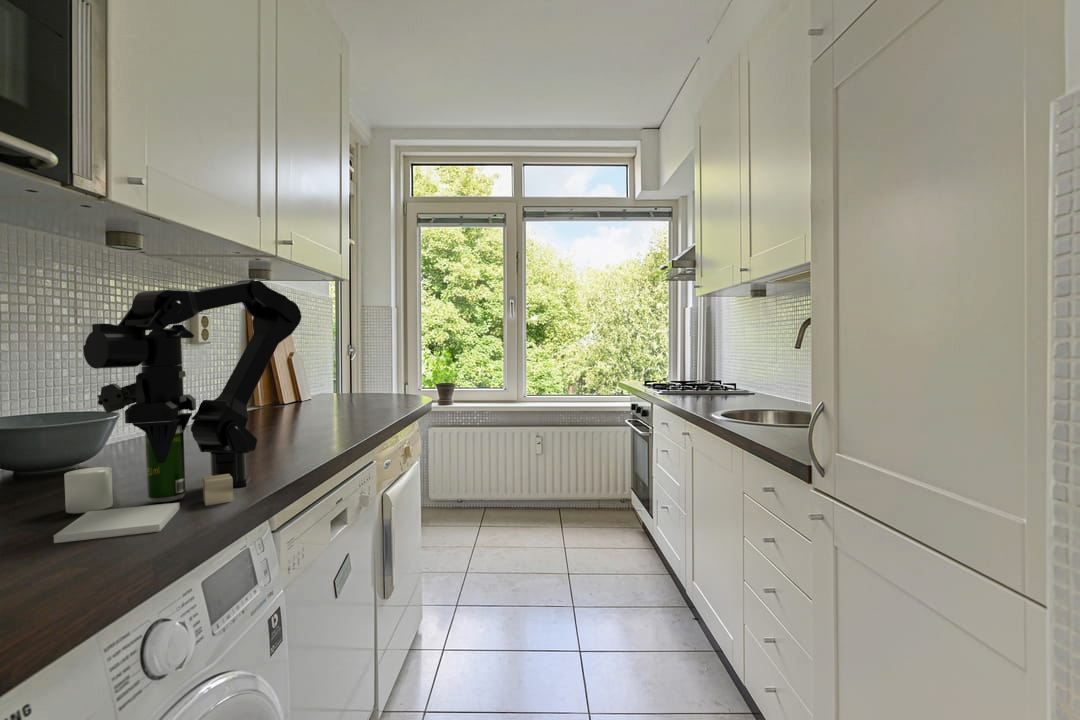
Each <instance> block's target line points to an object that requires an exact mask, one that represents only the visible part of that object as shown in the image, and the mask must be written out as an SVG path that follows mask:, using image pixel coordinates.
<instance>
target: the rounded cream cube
mask: <svg viewBox="0 0 1080 720" xmlns="http://www.w3.org/2000/svg"><path fill="white" fill-rule="evenodd" d="M112 472H113V471H112V468H111V467H106V466H102V467H101V466H100V467H99V466H98V467H88V468H87V467H86V468H80V469H75V470H71V471H67V472H65V473H64V474H63V475H64V476H63V477H64V497H65V499H64V500H65V503H64V504H65V512H66V513H67V514H83V513H84V514H85V513H87V512H88V511H98V510H107V509H108V508H111V507H112V506H113V505H114V501H113V498H114V497H113V479H112V478H113V476H112V475H113V474H112Z"/></svg>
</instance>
